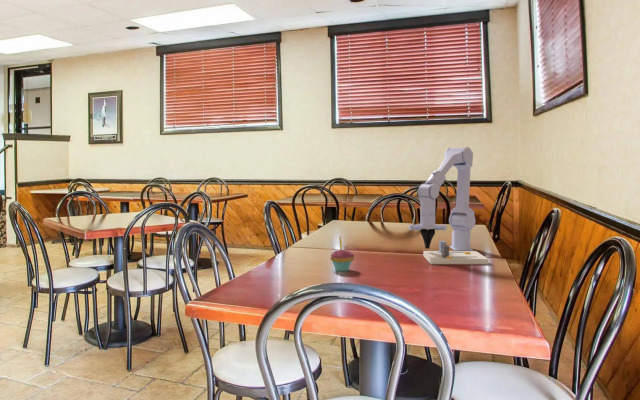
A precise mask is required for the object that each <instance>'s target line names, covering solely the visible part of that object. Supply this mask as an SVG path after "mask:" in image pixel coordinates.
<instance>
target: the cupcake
mask: <svg viewBox="0 0 640 400" xmlns="http://www.w3.org/2000/svg"><path fill="white" fill-rule="evenodd" d="M355 259H356V258H355V254H354V253H352V252H351V251H350V250H346V249H343V244H342V237H341V236H339V250H334V251H333V252H332V253H331V254H330V261H331V263H332V264H333V266H334V267H333V268H334V269H335V271H337V272H347V271H349V270H350V267H351V264H352V262H353V261H355Z"/></svg>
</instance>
